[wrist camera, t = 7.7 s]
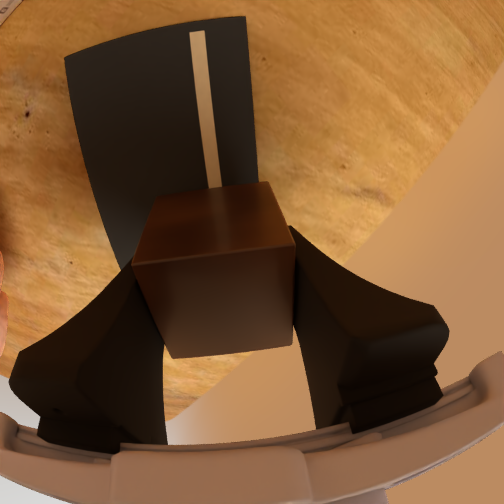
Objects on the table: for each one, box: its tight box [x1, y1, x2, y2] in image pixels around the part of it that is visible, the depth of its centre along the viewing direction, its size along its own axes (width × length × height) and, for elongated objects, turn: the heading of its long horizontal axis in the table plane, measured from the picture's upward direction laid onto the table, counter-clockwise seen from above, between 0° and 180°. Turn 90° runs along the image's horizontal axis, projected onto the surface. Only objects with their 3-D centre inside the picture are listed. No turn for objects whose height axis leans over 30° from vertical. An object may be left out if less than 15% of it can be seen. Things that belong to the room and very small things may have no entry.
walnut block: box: [131, 182, 296, 359], centre depth 11 cm, size 4×4×4 cm
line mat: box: [64, 16, 259, 270], centre depth 12 cm, size 12×8×1 cm, turn 4°
